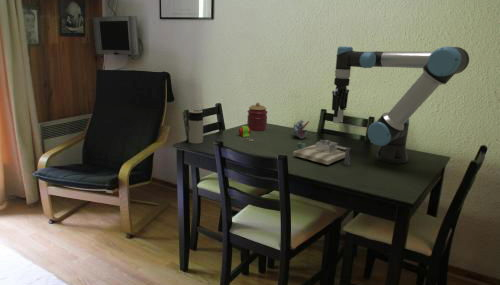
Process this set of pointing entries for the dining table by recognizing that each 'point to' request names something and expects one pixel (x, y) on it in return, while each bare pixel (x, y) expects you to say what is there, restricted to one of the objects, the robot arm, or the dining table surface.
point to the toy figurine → (299, 129)
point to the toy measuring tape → (245, 131)
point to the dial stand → (346, 155)
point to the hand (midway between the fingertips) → (337, 122)
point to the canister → (257, 117)
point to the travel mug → (195, 126)
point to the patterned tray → (317, 154)
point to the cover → (326, 146)
